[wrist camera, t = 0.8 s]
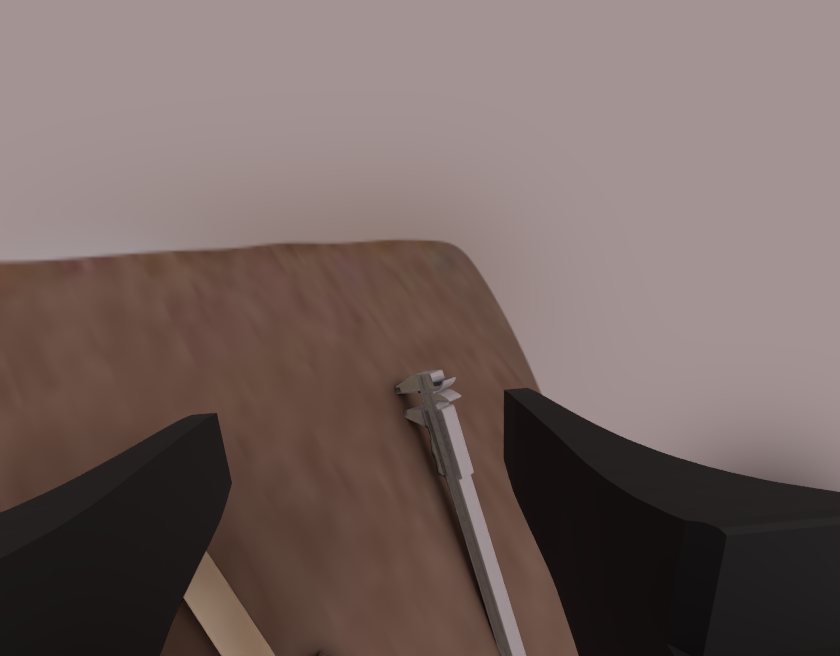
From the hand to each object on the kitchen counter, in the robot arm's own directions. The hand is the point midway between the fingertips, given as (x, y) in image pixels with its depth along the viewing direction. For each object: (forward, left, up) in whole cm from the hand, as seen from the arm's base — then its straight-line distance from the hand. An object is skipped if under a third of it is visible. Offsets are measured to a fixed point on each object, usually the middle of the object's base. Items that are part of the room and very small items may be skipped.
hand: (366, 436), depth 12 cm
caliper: (+6, -12, -19) cm, 23 cm away
